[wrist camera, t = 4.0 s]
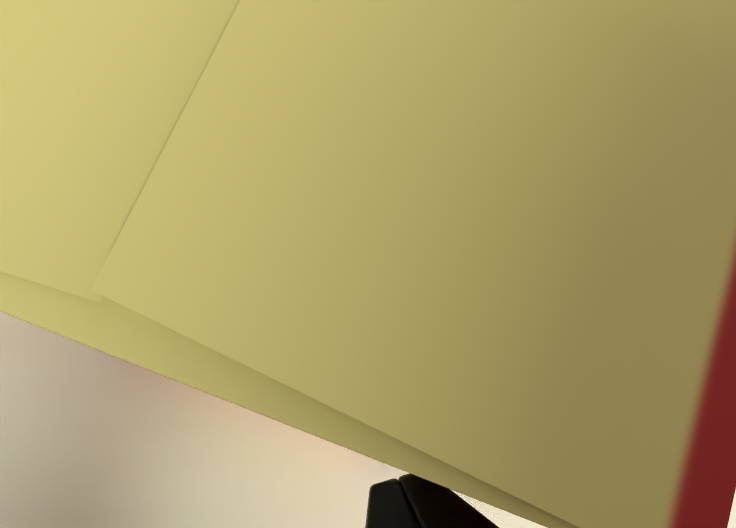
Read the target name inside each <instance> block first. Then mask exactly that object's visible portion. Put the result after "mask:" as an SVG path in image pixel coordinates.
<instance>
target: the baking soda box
mask: <svg viewBox="0 0 736 528" xmlns="http://www.w3.org/2000/svg"><path fill="white" fill-rule="evenodd" d="M0 311H1V312H3V313H6V314H8V315H11V316H13V317H16V318H18V319H21V320H23V321H26V322H28V323H31V324H33V325H36V326H39V327H41V328H44V329H46V330H49V331H51V332H54V333H56V334H59V335H61V336H64V337H66V338H69V339H71V340H74V341H77V342H79V343H82V344H84V345H87V346H89V347H92V348H94V349H97V350H99V351H102V352H104V353H107V354H109V355H112V356H115V357H117V358H120V359H122V360H125V361H127V362H130V363H132V364H135V365H137V366H140V367H142V368H145V369H147V370H150V371H153V372H155V373H158V374H160V375H163V376H165V377H168V378H170V379H173V380H175V381H178V382H180V383H183V384H185V385H188V386H190V387H193V388H196V389H198V390H201V391H203V392H206V393H208V394H211V395H213V396H216V397H218V398H221V399H223V400H226V401H228V402H231V403H234V404H236V405H239V406H241V407H244V408H246V409H249V410H251V411H254V412H256V413H259V414H261V415H264V416H266V417H269V418H272V419H274V420H277V421H279V422H282V423H284V424H287V425H289V426H292V427H294V428H297V429H299V430H302V431H304V432H307V433H310V434H312V435H315V436H317V437H320V438H322V439H325V440H327V441H330V442H332V443H335V444H337V445H340V446H342V447H345V448H348V449H350V450H353V451H355V452H358V453H360V454H363V455H365V456H368V457H370V458H373V459H375V460H378V461H380V462H383V463H386V464H388V465H391V466H393V467H396V468H398V469H401V470H403V471H406V472H408V473H411V474H413V475H416V476H418V477H421V478H424V479H426V480H429V481H431V482H434V483H436V484H439V485H441V486H444V487H446V488H449V489H451V490H454V491H456V492H459V493H462V494H464V495H467V496H469V497H472V498H474V499H477V500H479V501H482V502H484V503H487V504H489V505H492V506H494V507H497V508H499V509H502V510H505V511H507V512H510V513H512V514H515V515H517V516H520V517H522V518H525V519H527V520H530V521H532V522H535V523H537V524H540V525H543V526H545V527H548V528H727V526H728V521H729V516H730V512H731V507H732V502H733V498H734V493H735V488H736V0H0Z"/></svg>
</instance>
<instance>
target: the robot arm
mask: <svg viewBox="0 0 736 528" xmlns="http://www.w3.org/2000/svg"><path fill="white" fill-rule="evenodd" d="M365 528H499V527H498V526H496V525H495V524H494V523H493V522H491V521H490V520H489V519H487V518H486V517H485V516H484V515H482V514H481V513H480V512H478V511H477V510H476V509H475V508H473V507H472V506H471V505H469V504H468V503H467V502H466V501H464V500H463V499H462V498H460V497H459V496H458V495H457V494H455V493H454V492H453V491H451V490H450V489H449V488H446V487H444V486H441V485H439V484H436V483H434V482H431V481H429V480H426V479H424V478H421V477H418V476H416V475H413V474H411V473H410V474H407V475H403V476H401V477H400V478H399V479H398V480H397V479H390V480H387V481H384V482H380V483H377V484H374V485H372V486H371V488H370V491H369V499H368V508H367V517H366V526H365Z"/></svg>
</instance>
